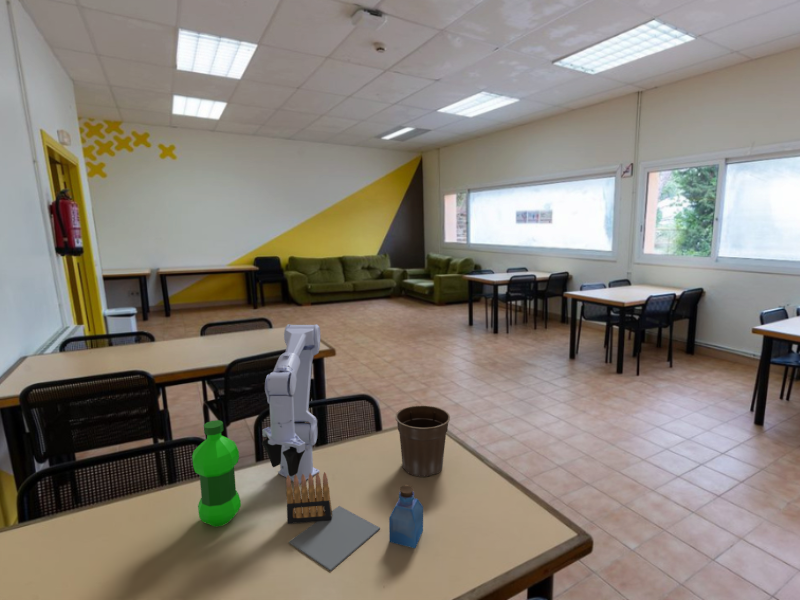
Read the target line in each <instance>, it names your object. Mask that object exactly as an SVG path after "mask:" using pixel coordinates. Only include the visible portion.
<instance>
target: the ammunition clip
mask: <svg viewBox="0 0 800 600" xmlns="http://www.w3.org/2000/svg"><path fill="white" fill-rule="evenodd" d="M322 475H323V476H322V481H321V476H320V474H319V473H317V474H315V484H314V479H313V477H314V476H312V475H311V473H310V474H309V479H307V480H308V484H307V480H306V479H305V476H304V474H302V477H301V483H300V484H301V485H300V484H299V481H298V478H297V475H296V474H295V476H294V482H293V486H292V480H291V479H290V477H289V475H287V478H286V480H285V481H286V482H285V483H286V486H285V488H286V491H285V494H286V497H285V498H286V517H287V519H286V520H287V521H286V523H287V524H288V525H289V524H301V523H316V522H317V521H329V520H332V511H333V509H332V502H331V501H332V500H331V494H330V486H329V481H328V480H329V479H328V476H327V473H326V472H323V474H322ZM321 482H322V483H321ZM307 485H308V487H307Z"/></svg>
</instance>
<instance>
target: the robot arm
mask: <svg viewBox="0 0 800 600" xmlns="http://www.w3.org/2000/svg"><path fill="white" fill-rule="evenodd" d="M283 339H284V340H283V341H284V344H285V345H286V347H285V352H283V353H282V354H281V355H279V357H278V359H277V361H276V364H275V365H274V368H273V370H272V372H270V373H268V374H267V375H266V378H265V380H264V381H265V382H264V391H265V395H266V400H267V404H269V420H270V426H267V427H264V428H263V429H262V437H263V438H265V439H264V440H262V441H261V445H262V447H264V449H265V451H266V453H267V455H268V457H269V461H270V463H271V466H272V468H276V467H277V466H280V468H279V469H280V470H279V471H277V472H278V474H279V475H281V476H283V477H284V478H286V479H287V475H289V477H290V479H291V482H293V483H294V476H295V474H296V475H297V478H298V481H299V485H300V484H301V477H302V474H304V476H305V479H306V481H307V480H308V479H309V474H310V473H311V475H312V477H314V476H316V474H317V473H318V474H319V473H320V472H321V471H320V469H318V468H315V467H314V463H313V461H314V459H313V446H315V444H316V443H317V439H318V419H317V417H316V416H315V415H313V414H312V413H311V412H310V411H309V407H310V406H309V405H310V392H311V391H310V390H311V380H312V379H311V377H312V367H313V366H312V365H313V360H314V356H316V355H318V354H319V352H320V349H321V327H320V326H319V324H316V323H315V324H291V323H290V324H289V323H288V324H286V326H285V327H284V332H283Z"/></svg>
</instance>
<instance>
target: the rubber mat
mask: <svg viewBox="0 0 800 600" xmlns="http://www.w3.org/2000/svg"><path fill="white" fill-rule="evenodd" d="M380 530H381V527H379V526H377V525H375V524H374V523H372V522H370V521H368V520H367V519H366V518H363V517H361V516H359V515H357V514H355V513H353V512H352V511H350V510H348V509H346V508H344V507H343V506H340V505H339V506H337V507H336V508H334V509H332V520H329V521H317V522H313V524H312V525H310V526H308V527H307V528H306V529H304V530H303V531H301V532H299V534H297V535H296V536H295V537H293V538H291V540H289V542H288V544H290V545H291V546H292V547H294V548H296V549H297V550H299V551H300V552H302V554H303V553H304V555H306V556H307V557H308V558H310V559H312V560H313V561H315V562H316V563H318V564H319V565H320V566H322V567H324V568H325V569H327V570H329V571H330V572H331V571H333V570H334V569H335V568H337V567H338V566H339V565H340V564H341V563H342V562H343V561H345V560H346V559H347V558H348V557H349V556H350V555H352V554H353V553H354V552H355V551H356V550H357V549H359V548H360V547H361V546H362V545H363V544H365V543H366V542H367V541H368V540H370V539H371V538H372V537H373V536H374V535H375V534H376V533H377V532H378V531H380Z"/></svg>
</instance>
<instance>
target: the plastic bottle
mask: <svg viewBox="0 0 800 600" xmlns="http://www.w3.org/2000/svg"><path fill="white" fill-rule="evenodd" d="M203 431H204V435H206V439H205V440H204V441H202V442H201V443H200V444H199V445H198V446H197V447H196V448H195V449H194V450H193V451H192V455H191V459H192V468H193V470H194V473H195V474H197V475H199V483H200V484H199V485H200V493H201V494H200V499H199V502H198V504H197V510H198V511H197V512H198V516H199V517H198V518H199V520H200V521H202V522H203V523H205V524H207V525H210V526H212V527H215V528H217V527H223V526H225V525H226V524H229V522H230V521H232V520H233V518H234V517H235V516H236V515H237V514H238V512H239V511H240V508H241V505H242V502H241V498H240V494H239V492H238V490H236V489H237V488H236V475H235V467H236V465H237V464H238V463H239V459H240V452H239V449H238V446H237V444H236V442H235V441H234V440H232V439H230V438H229V437H226V436H224V435H222V432H223V431H224V422H223V421H222V420H219V419H218V420H210V421H207V422H206V423H204V424H203Z"/></svg>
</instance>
